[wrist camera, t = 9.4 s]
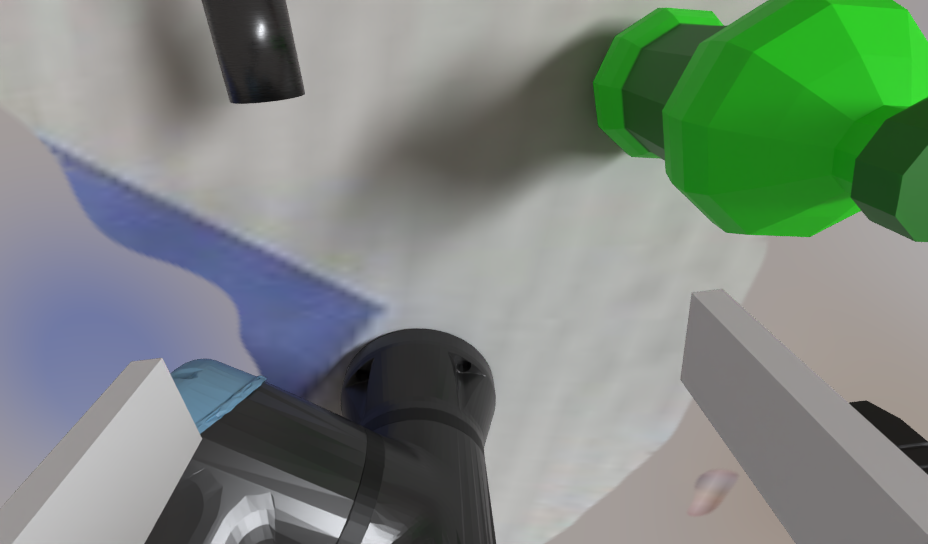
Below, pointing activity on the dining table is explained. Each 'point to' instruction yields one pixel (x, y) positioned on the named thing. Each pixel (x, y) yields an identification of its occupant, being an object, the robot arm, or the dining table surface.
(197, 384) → the robot arm
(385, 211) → the dining table surface
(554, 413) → the dining table surface
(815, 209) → the plastic bottle
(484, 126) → the dining table surface
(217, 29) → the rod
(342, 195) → the dining table surface
